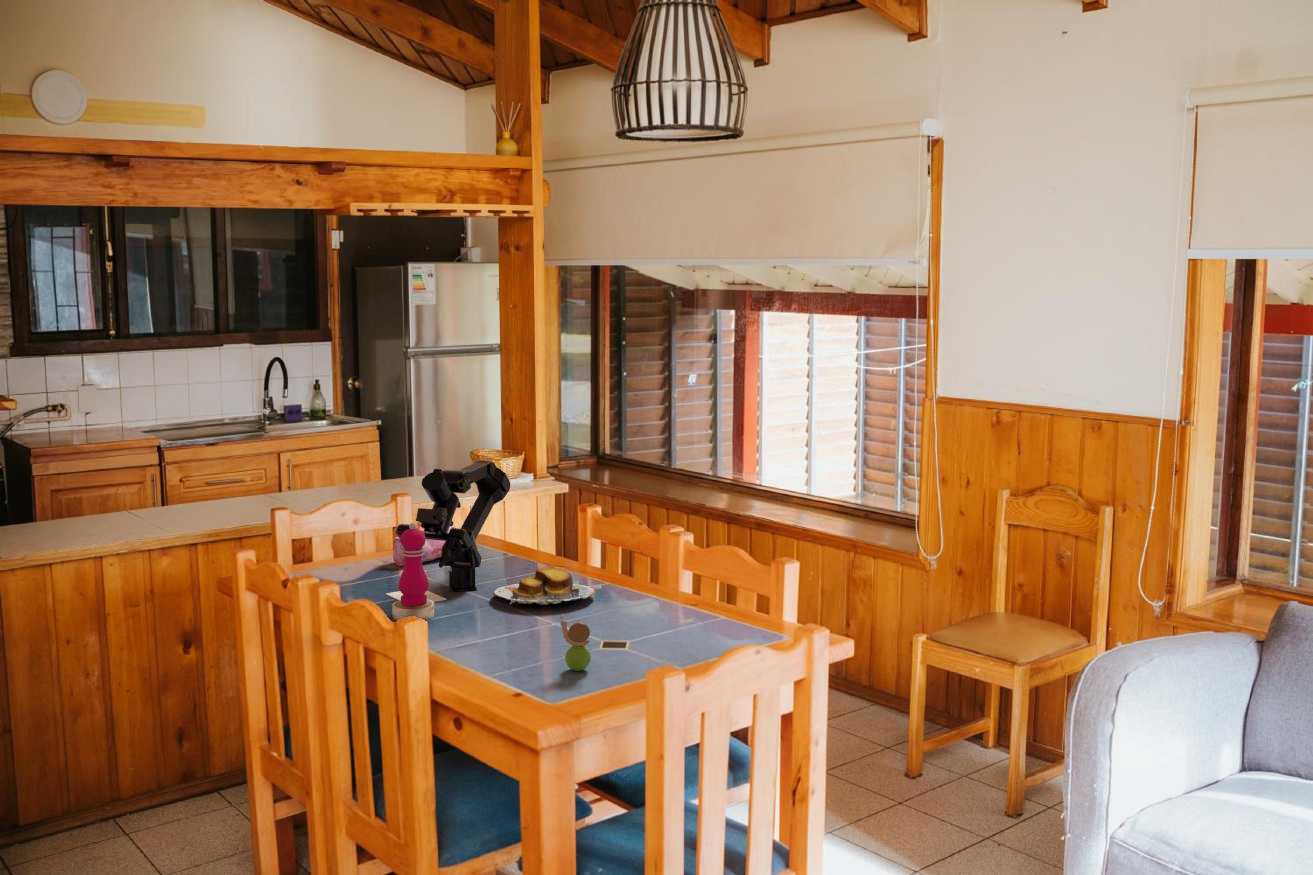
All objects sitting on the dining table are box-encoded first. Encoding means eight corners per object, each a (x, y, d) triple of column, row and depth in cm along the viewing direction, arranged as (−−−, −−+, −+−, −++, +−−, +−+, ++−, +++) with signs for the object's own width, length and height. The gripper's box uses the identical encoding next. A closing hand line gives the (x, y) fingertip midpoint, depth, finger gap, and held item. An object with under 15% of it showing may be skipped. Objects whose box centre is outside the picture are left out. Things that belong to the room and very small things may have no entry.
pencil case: (406, 569, 332) (406, 538, 331) (387, 563, 338) (387, 533, 337) (466, 557, 348) (466, 527, 346) (447, 551, 354) (447, 522, 352)
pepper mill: (414, 609, 281) (413, 527, 279) (392, 604, 285) (391, 523, 282) (435, 602, 287) (434, 522, 285) (413, 597, 291) (412, 518, 289)
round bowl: (430, 608, 293) (430, 596, 292) (437, 619, 283) (437, 607, 283) (390, 612, 289) (389, 599, 289) (395, 623, 280) (394, 610, 280)
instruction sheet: (420, 588, 312) (420, 587, 312) (446, 599, 301) (446, 598, 301) (385, 594, 305) (385, 593, 305) (411, 606, 295) (411, 605, 295)
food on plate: (473, 604, 298) (473, 579, 297) (530, 582, 320) (530, 558, 319) (560, 619, 286) (559, 592, 285) (612, 595, 308) (613, 570, 307)
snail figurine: (560, 666, 251) (560, 611, 249) (590, 665, 252) (590, 611, 250) (560, 674, 246) (560, 618, 244) (591, 674, 246) (591, 618, 245)
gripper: (398, 492, 295) (376, 545, 286) (466, 497, 290) (446, 551, 281) (413, 516, 304) (393, 568, 295) (480, 522, 298) (461, 575, 290)
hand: (422, 565), depth 290 cm, fingers open, 9 cm apart
